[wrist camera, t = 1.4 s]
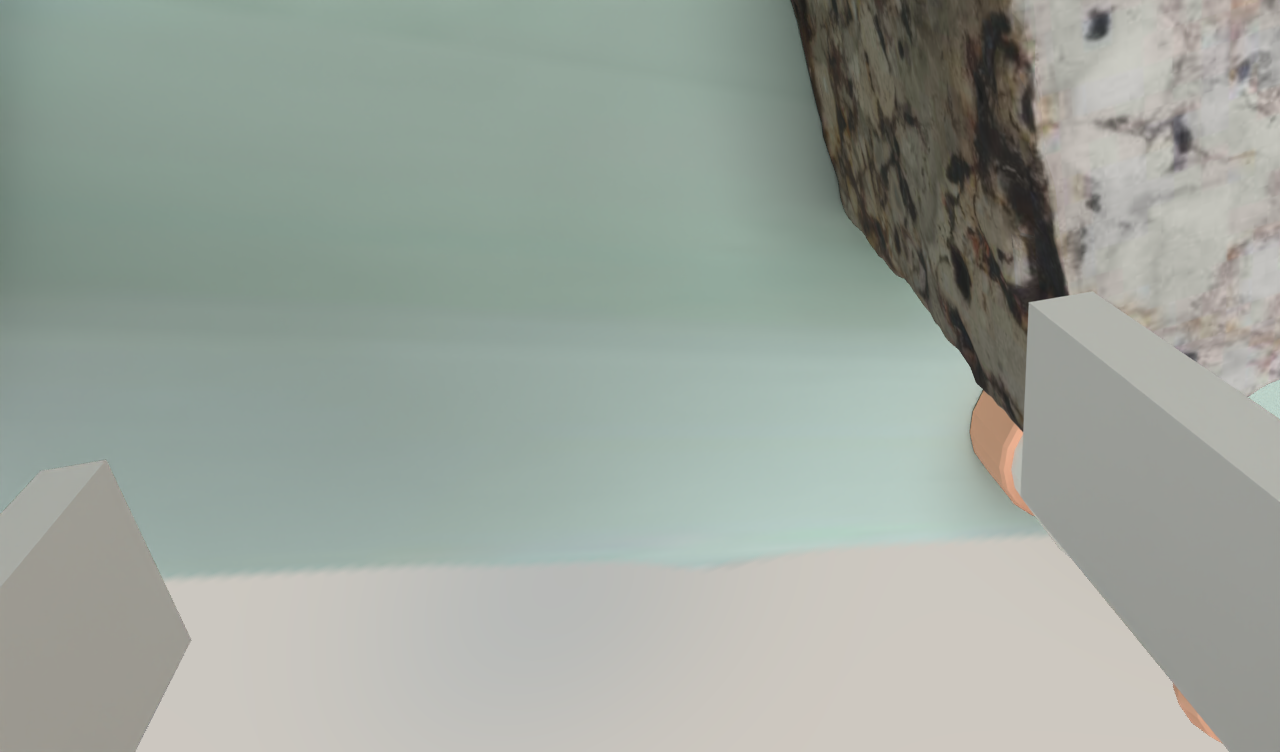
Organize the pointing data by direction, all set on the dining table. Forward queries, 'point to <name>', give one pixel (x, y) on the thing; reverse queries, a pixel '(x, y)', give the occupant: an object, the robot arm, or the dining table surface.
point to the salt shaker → (1003, 460)
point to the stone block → (1064, 166)
